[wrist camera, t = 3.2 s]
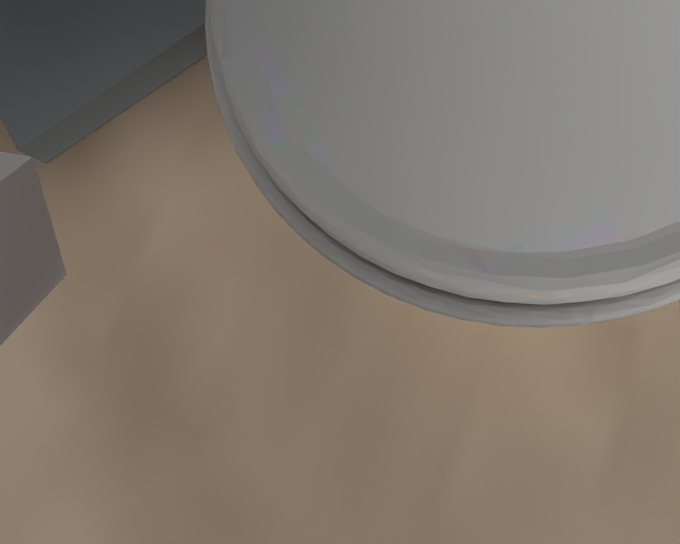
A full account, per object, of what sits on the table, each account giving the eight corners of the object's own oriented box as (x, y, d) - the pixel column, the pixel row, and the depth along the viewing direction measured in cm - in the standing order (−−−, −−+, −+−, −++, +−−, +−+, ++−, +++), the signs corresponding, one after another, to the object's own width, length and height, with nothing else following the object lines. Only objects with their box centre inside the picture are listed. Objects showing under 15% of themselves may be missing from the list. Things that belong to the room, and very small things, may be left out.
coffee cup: (275, 241, 21) (62, 101, 9) (425, -6, 21) (409, -461, 9) (538, 399, 19) (701, 481, 7) (699, 127, 19) (1112, -224, 7)
